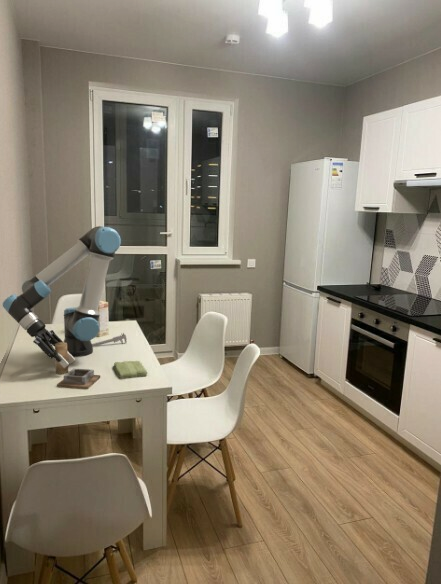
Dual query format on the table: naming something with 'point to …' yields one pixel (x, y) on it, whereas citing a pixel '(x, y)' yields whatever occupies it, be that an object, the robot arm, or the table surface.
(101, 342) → the caliper
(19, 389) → the table surface
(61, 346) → the oak pin
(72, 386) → the socket board
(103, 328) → the coffeecake box
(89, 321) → the robot arm
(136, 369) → the washcloth
